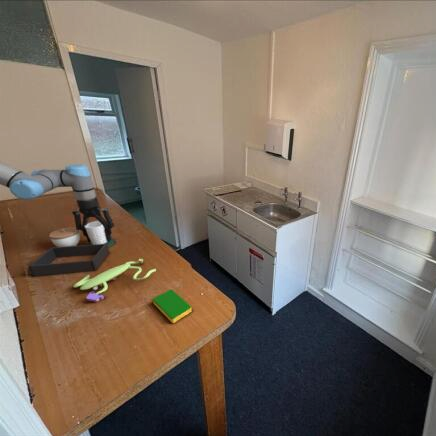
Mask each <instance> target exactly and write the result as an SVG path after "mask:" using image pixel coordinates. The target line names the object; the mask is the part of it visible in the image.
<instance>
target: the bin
mask: <svg viewBox="0 0 436 436" xmlns="http://www.w3.org/2000/svg"><path fill="white" fill-rule="evenodd" d="M110 253H111V252H110V248H109V247H108V245H107V244H94V245H88V244H83V245H76V246H66V247H57V246H54V247H53V246H52V247H49V249H48V250H46V251H45V252H44V253H43V254H42V255H40V256H39V257H38V258H36V260H34V261H33V262H32V263H30V264H29V265H27V268H28V269H29V272H30V274H31V275H32V277H43V276H53V275H64V274H74V273H75V274H76V273H84V272H94V271H97V270H98V268H99V266H101V264H102V263H103V262H104V260H105V259H106V258H107V257H108V255H109V254H110ZM91 255H94V256H93V257H92V258H91V259H90V260H88V259H87V260H76V261H68V262H67V261H66V262H55V263H52V262H53V261H54V260H55V259H56V258H67V257H80V256H91Z"/></svg>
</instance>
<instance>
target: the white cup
mask: <svg viewBox="0 0 436 436" xmlns="http://www.w3.org/2000/svg"><path fill="white" fill-rule="evenodd" d="M85 229H86V231H87V234H88V236H89V238H90V240H91V242H92V244H93V245H94V244H104V243H106V242H108V241H107V237H106V234H105V231H104V230H105V227H104V226H103V225H102V224H101V223H100V222H99V221H98V220H95V221H90V222H88V224H87V225H86V226H85ZM91 242H90V243H91Z"/></svg>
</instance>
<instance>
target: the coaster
mask: <svg viewBox="0 0 436 436" xmlns="http://www.w3.org/2000/svg"><path fill="white" fill-rule="evenodd" d="M104 244H107V245H108V248H109V247H111V246H113V245H114V244H115V239H113V238H112V239H111V240H110V241H108V242H106V243H104ZM87 245H93V244H92V242H90V243H88V244H87Z"/></svg>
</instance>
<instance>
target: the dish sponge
mask: <svg viewBox="0 0 436 436" xmlns="http://www.w3.org/2000/svg"><path fill="white" fill-rule="evenodd" d="M152 303H153V305H154V306H155V307H156V308H157V309H158V310H159V311H160V312H161V313H162V315H164V317H166V319H168V320H169V322H170V323H171V324H175V323H177V322H178V321H179V320H182V318H184V317H186V316H188V314H190V313H192V306H191V304H189V303H188V302H187V301H186V300H185V299H184V298H182V296H181V295H179V294H178V293H177V292H176V291H174V290H173V289H168V290H167V291H165V292H163V293H161V294H159V295H157V296H155V297H153V298H152Z"/></svg>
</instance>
